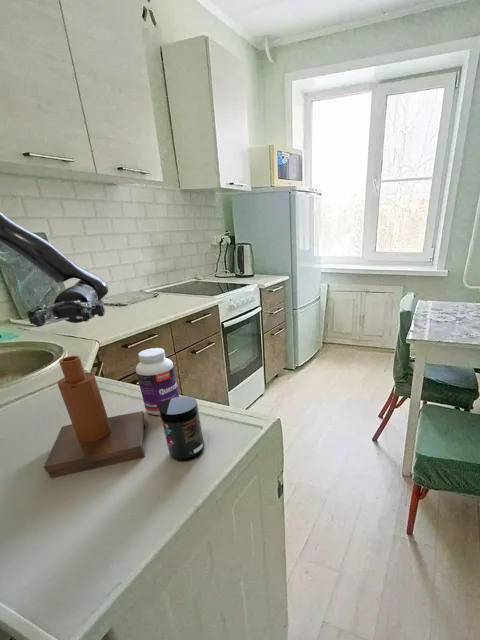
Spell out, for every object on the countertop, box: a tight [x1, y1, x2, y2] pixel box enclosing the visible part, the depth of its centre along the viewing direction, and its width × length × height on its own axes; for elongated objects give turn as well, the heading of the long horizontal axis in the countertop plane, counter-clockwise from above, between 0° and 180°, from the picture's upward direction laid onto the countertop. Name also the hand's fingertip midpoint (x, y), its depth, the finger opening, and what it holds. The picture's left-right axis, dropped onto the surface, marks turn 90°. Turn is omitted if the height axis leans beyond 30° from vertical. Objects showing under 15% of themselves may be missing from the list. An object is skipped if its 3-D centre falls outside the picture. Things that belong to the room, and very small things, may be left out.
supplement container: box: [159, 395, 205, 462], centre depth 66 cm, size 7×7×10 cm
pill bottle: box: [135, 347, 180, 416], centre depth 81 cm, size 8×8×14 cm
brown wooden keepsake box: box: [43, 410, 147, 479], centre depth 70 cm, size 16×14×3 cm
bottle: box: [56, 355, 111, 442], centre depth 67 cm, size 6×6×16 cm
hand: (61, 319), depth 71 cm, fingers open, 8 cm apart
